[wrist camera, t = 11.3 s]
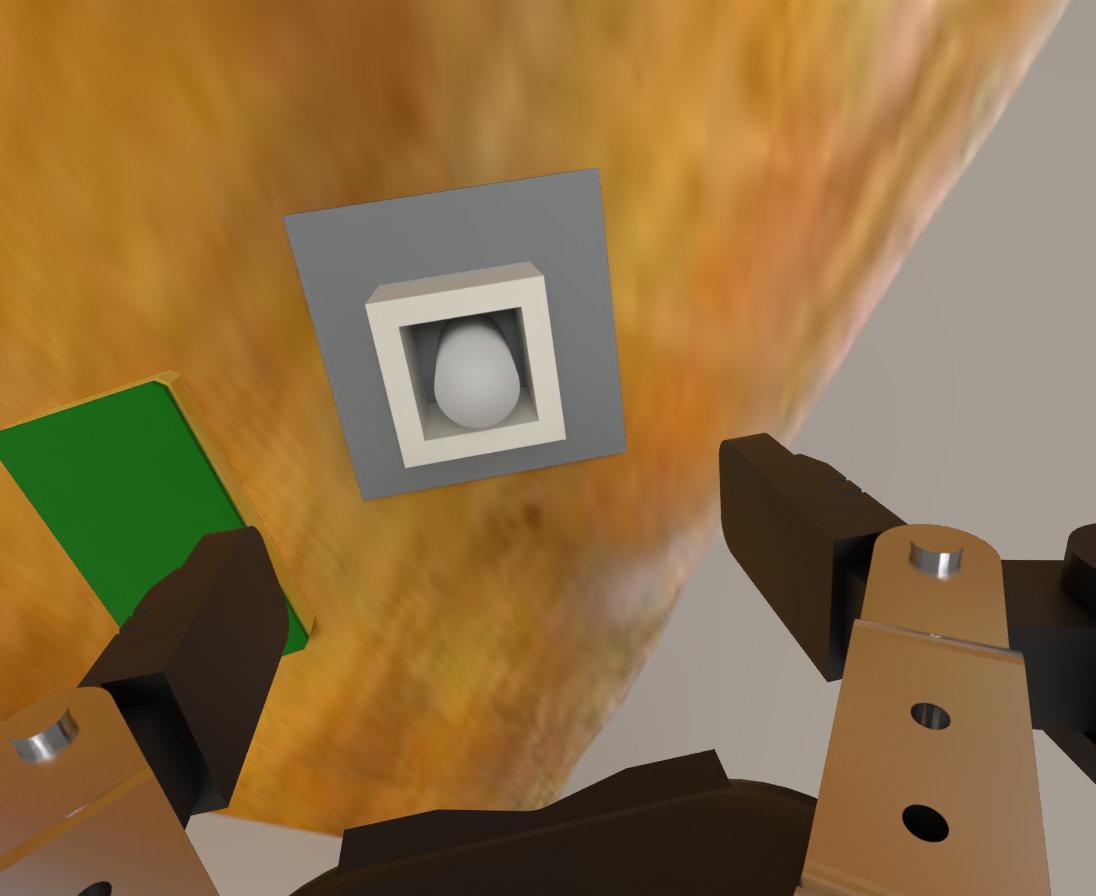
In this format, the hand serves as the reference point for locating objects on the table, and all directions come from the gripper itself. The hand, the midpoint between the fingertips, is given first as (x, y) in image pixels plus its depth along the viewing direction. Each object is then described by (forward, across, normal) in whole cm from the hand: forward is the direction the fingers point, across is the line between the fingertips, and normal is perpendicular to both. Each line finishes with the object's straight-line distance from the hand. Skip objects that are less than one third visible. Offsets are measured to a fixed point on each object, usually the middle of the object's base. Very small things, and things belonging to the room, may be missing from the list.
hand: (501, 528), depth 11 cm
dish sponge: (+19, +15, +7) cm, 25 cm away
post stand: (+18, 0, +1) cm, 18 cm away
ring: (+17, 0, +1) cm, 17 cm away
